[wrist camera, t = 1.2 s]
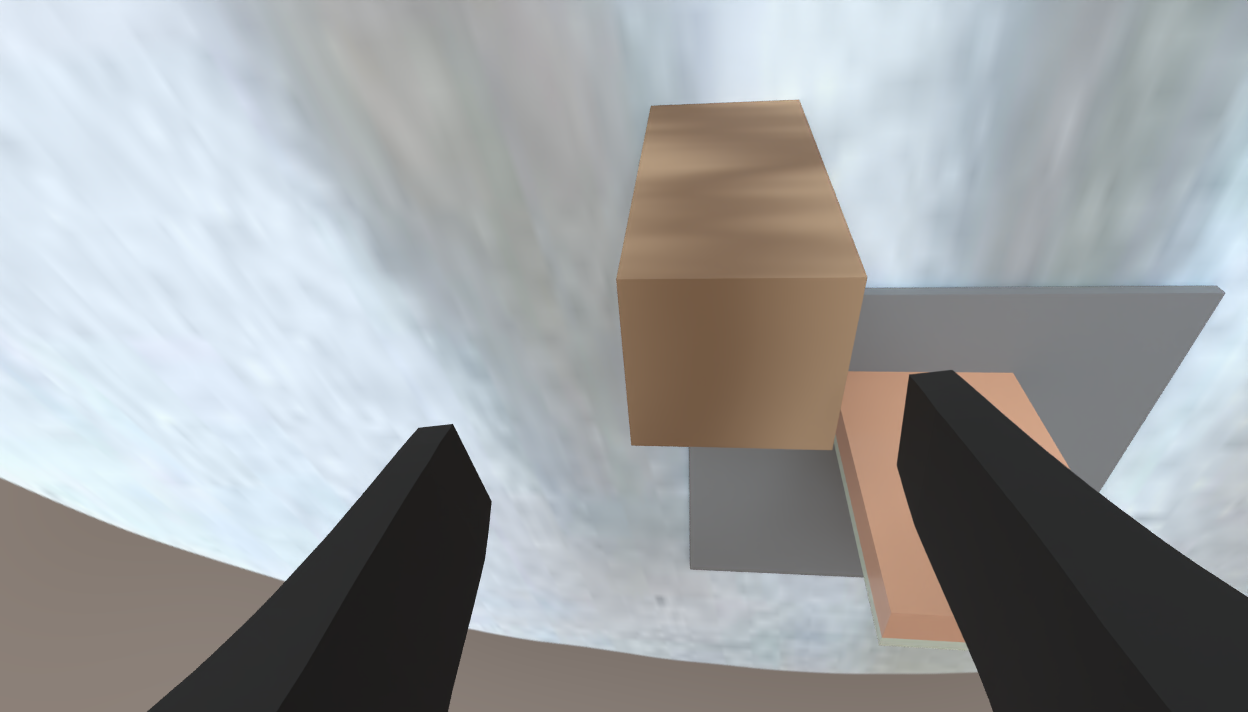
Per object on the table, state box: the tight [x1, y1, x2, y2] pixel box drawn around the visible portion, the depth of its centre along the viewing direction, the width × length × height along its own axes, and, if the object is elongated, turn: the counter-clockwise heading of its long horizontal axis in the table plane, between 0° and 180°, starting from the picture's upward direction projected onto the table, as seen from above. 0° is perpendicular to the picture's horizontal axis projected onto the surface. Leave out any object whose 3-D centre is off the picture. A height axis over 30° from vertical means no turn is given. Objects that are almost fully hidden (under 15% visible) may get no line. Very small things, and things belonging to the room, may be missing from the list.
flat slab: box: [834, 371, 1070, 651], centre depth 19 cm, size 6×2×9 cm, turn 94°
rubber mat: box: [689, 286, 1225, 577], centre depth 25 cm, size 16×16×1 cm
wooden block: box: [616, 100, 867, 450], centre depth 15 cm, size 4×4×9 cm
